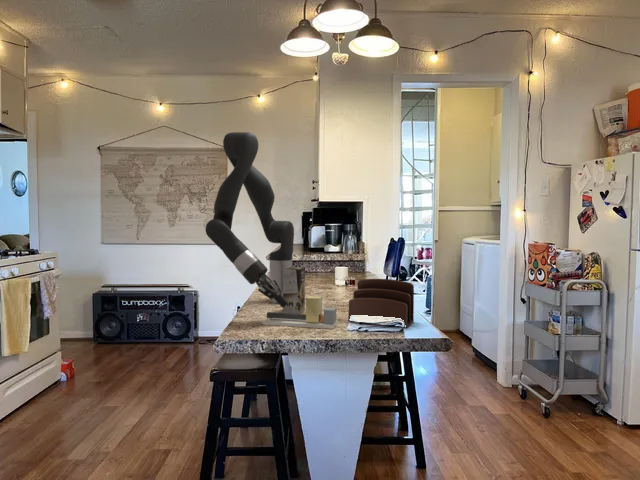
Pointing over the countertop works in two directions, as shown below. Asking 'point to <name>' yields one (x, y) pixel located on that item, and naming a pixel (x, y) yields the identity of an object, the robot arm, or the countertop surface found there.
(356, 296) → the letter holder
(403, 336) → the countertop surface
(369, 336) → the countertop surface
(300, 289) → the coffee box
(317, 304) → the sleeve
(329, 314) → the white base plate
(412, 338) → the countertop surface
